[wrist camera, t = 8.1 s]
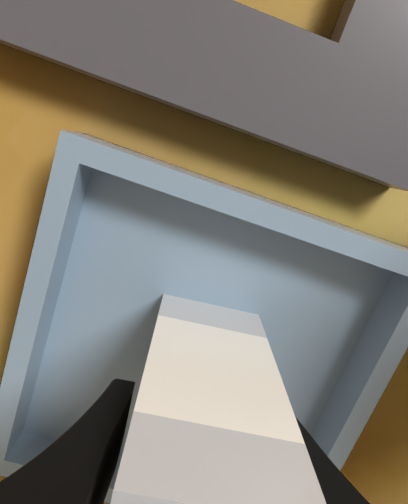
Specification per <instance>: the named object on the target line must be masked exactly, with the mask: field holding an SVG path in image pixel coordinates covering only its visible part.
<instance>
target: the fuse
mask: <svg viewBox="0 0 408 504" xmlns="http://www.w3.org/2000/svg"><path fill="white" fill-rule="evenodd" d="M110 504H326V501H325V498H324V495H323V493H322V490H321V487H320V484H319V482H318V479H317V476H316V473H315V470H314V468H313V465H312V462H311V459H310V456H309V454H308V451H307V448H306V445H305V443H304V440H303V437H302V434H301V431H300V429H299V426H298V423H297V420H296V417H295V415H294V412H293V409H292V406H291V403H290V401H289V398H288V395H287V392H286V390H285V387H284V384H283V381H282V378H281V376H280V373H279V370H278V367H277V364H276V362H275V359H274V356H273V353H272V351H271V348H270V345H269V342H268V339H267V337H266V334H265V331H264V328H263V325H262V323H261V320H260V317H259V315H258V314H254V313H249V312H244V311H240V310H235V309H231V308H226V307H221V306H217V305H212V304H207V303H203V302H198V301H194V300H189V299H184V298H180V297H175V296H171V295H166V294H163V298H162V302H161V306H160V309H159V313H158V317H157V321H156V325H155V329H154V333H153V337H152V341H151V345H150V349H149V353H148V356H147V360H146V364H145V368H144V372H143V376H142V380H141V384H140V388H139V392H138V396H137V399H136V403H135V407H134V411H133V415H132V419H131V423H130V427H129V431H128V435H127V439H126V443H125V446H124V450H123V454H122V458H121V462H120V466H119V470H118V474H117V478H116V482H115V486H114V489H113V494H112V498H111V503H110Z"/></svg>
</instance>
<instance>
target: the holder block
mask: <svg viewBox="0 0 408 504" xmlns="http://www.w3.org/2000/svg"><path fill="white" fill-rule="evenodd" d="M0 43H1V44H3V45H6V46H9V47H11V48H14V49H17V50H19V51H22V52H25V53H28V54H30V55H33V56H36V57H38V58H41V59H44V60H47V61H49V62H52V63H55V64H57V65H60V66H63V67H66V68H68V69H71V70H74V71H76V72H79V73H82V74H84V75H87V76H90V77H93V78H95V79H98V80H101V81H103V82H106V83H109V84H112V85H114V86H117V87H120V88H122V89H125V90H128V91H130V92H133V93H136V94H139V95H141V96H144V97H147V98H149V99H152V100H155V101H158V102H160V103H163V104H166V105H168V106H171V107H174V108H176V109H179V110H182V111H185V112H187V113H190V114H193V115H195V116H198V117H201V118H204V119H206V120H209V121H212V122H214V123H217V124H220V125H222V126H225V127H228V128H231V129H233V130H236V131H239V132H241V133H244V134H247V135H250V136H252V137H255V138H258V139H260V140H263V141H266V142H269V143H271V144H274V145H277V146H279V147H282V148H285V149H287V150H290V151H293V152H296V153H298V154H301V155H304V156H306V157H309V158H312V159H315V160H317V161H320V162H323V163H325V164H328V165H331V166H333V167H336V168H339V169H342V170H344V171H347V172H350V173H352V174H355V175H358V176H361V177H363V178H366V179H369V180H371V181H374V182H377V183H379V184H382V185H385V186H388V187H390V188H395V189H400V190H405V191H408V0H345V2H344V4H343V7H342V9H341V12H340V14H339V17H338V19H337V22H336V25H335V27H334V30H333V32H332V35H331V37H330V39H327V38H325V37H322V36H320V35H317V34H315V33H312V32H310V31H307V30H305V29H302V28H300V27H297V26H295V25H293V24H290V23H288V22H285V21H283V20H280V19H278V18H275V17H273V16H270V15H268V14H265V13H263V12H260V11H258V10H256V9H253V8H251V7H248V6H246V5H243V4H241V3H238V2H236V1H233V0H0Z"/></svg>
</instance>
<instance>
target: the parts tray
mask: <svg viewBox="0 0 408 504" xmlns="http://www.w3.org/2000/svg"><path fill="white" fill-rule="evenodd" d="M163 294H166V295H171V296H175V297H180V298H184V299H189V300H194V301H198V302H203V303H207V304H212V305H217V306H221V307H226V308H231V309H235V310H240V311H244V312H249V313H254V314H258V315H259V317H260V320H261V323H262V325H263V328H264V331H265V334H266V337H267V339H268V342H269V345H270V348H271V351H272V353H273V356H274V359H275V362H276V364H277V367H278V370H279V373H280V376H281V378H282V381H283V384H284V387H285V390H286V392H287V395H288V398H289V401H290V403H291V406H292V409H293V412H294V415H295V416H296V418H297V419H298V420H299V421H300V423H301V424H302V425H303V426H304V428H305V429H306V430H307V431H308V433H309V434H310V435H311V436H312V438H313V439H314V440H315V441H316V443H317V444H318V445H319V446H320V448H321V449H322V450H323V451H324V453H325V454H326V455H327V456H328V458H329V459H330V460H331V461H332V462H333V464H334V465H335V466H336V467H337V468H338V469H339V471H341V469H342V467H343V465H344V463H345V462H346V460H347V458H348V456H349V454H350V452H351V451H352V449H353V447H354V445H355V443H356V442H357V440H358V438H359V436H360V434H361V432H362V431H363V429H364V427H365V425H366V423H367V421H368V420H369V418H370V416H371V414H372V412H373V411H374V409H375V407H376V405H377V403H378V401H379V400H380V398H381V396H382V394H383V392H384V390H385V389H386V387H387V385H388V383H389V381H390V379H391V378H392V376H393V374H394V372H395V370H396V369H397V367H398V365H399V363H400V361H401V359H402V358H403V356H404V354H405V352H406V350H407V348H408V248H407V247H404V246H401V245H398V244H395V243H393V242H390V241H387V240H384V239H381V238H378V237H376V236H373V235H370V234H367V233H364V232H361V231H359V230H356V229H353V228H350V227H347V226H344V225H342V224H339V223H336V222H333V221H330V220H327V219H325V218H322V217H319V216H316V215H313V214H311V213H308V212H305V211H302V210H299V209H296V208H294V207H291V206H288V205H285V204H282V203H279V202H277V201H274V200H271V199H268V198H265V197H262V196H260V195H257V194H254V193H251V192H248V191H246V190H243V189H240V188H237V187H234V186H231V185H229V184H226V183H223V182H220V181H217V180H214V179H212V178H209V177H206V176H203V175H200V174H197V173H195V172H192V171H189V170H186V169H183V168H181V167H178V166H175V165H172V164H169V163H166V162H164V161H161V160H158V159H155V158H152V157H149V156H147V155H144V154H141V153H138V152H135V151H132V150H130V149H127V148H124V147H121V146H118V145H115V144H113V143H110V142H107V141H104V140H101V139H99V138H96V137H93V136H90V135H87V134H84V133H77V132H71V131H64V130H60V134H59V139H58V143H57V147H56V151H55V156H54V160H53V164H52V168H51V173H50V177H49V181H48V185H47V190H46V194H45V198H44V203H43V207H42V211H41V215H40V220H39V224H38V228H37V232H36V237H35V241H34V245H33V249H32V254H31V258H30V262H29V267H28V271H27V275H26V279H25V284H24V288H23V292H22V296H21V301H20V305H19V309H18V313H17V318H16V322H15V326H14V330H13V335H12V339H11V343H10V348H9V352H8V356H7V360H6V365H5V369H4V373H3V377H2V382H1V386H0V476H4V477H8V476H10V475H11V474H12V473H14V472H15V471H17V470H18V469H19V468H21V467H22V466H24V465H25V464H27V463H28V462H29V461H31V460H32V459H33V458H35V457H36V456H37V455H39V454H40V453H41V452H42V451H44V450H45V449H46V448H47V447H49V446H50V445H51V444H52V443H53V442H55V441H56V440H57V439H58V438H59V437H60V436H61V435H62V434H63V433H65V432H66V431H67V430H68V429H69V428H70V427H71V426H72V425H73V424H74V423H75V422H76V421H78V420H79V419H80V418H81V416H82V415H83V414H84V413H85V412H86V411H87V410H88V409H89V408H90V407H91V406H92V405H93V404H94V403H95V402H96V400H97V399H98V398H99V397H100V396H101V395H102V394H103V392H104V391H105V390H106V388H107V387H108V386H109V384H110V383H111V381H112V380H114V379H116V378H117V379H122V380H128V381H133V382H135V386H134V390H133V395H132V400H131V405H130V410H129V415H128V419H127V424H126V429H125V434H124V438H123V442H122V446H121V450H120V454H119V458H118V462H117V466H116V469H115V472H114V475H113V478H112V480H111V483H110V486H109V489H108V492H107V495H106V497H105V500H104V502H105V503H109V504H110V503H111V498H112V494H113V489H114V486H115V482H116V478H117V474H118V470H119V466H120V462H121V458H122V454H123V450H124V446H125V443H126V439H127V435H128V431H129V427H130V423H131V419H132V415H133V411H134V407H135V403H136V399H137V396H138V392H139V388H140V384H141V380H142V376H143V372H144V368H145V364H146V360H147V356H148V353H149V349H150V345H151V341H152V337H153V333H154V329H155V325H156V321H157V317H158V313H159V309H160V306H161V302H162V298H163Z"/></svg>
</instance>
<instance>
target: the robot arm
mask: <svg viewBox="0 0 408 504" xmlns="http://www.w3.org/2000/svg"><path fill="white" fill-rule="evenodd" d="M134 386H135V382H133V381H128V380H122V379H117V378H116V379H114V380H112V381H111V383H110V384H109V386H108V387H107V388H106V390H105V391H104V392H103V394H102V395H101V396H100V397H99V398H98V399H97V400H96V402H95V403H94V404H93V405H92V406H91V407H90V408H89V409H88V410H87V411H86V412H85V413H84V414H83V415H82V416H81V418H80V419H79V420H78V421H76V422H75V423H74V424H73V425H72V426H71V427H70V428H69V429H68V430H67V431H66V432H65V433H63V434H62V435H61V436H60V437H59V438H58V439H57V440H56V441H55V442H53V443H52V444H51V445H50V446H49V447H47V448H46V449H45V450H44V451H42V452H41V453H40V454H39V455H37V456H36V457H35V458H33V459H32V460H31V461H29V462H28V463H27V464H25V465H24V466H22V467H21V468H19V469H18V470H17V471H15V472H14V473H12V474H11V475H10V476H8V477H7V478H5V479H4V480H2V481H1V482H0V504H103V503H104V500H105V497H106V495H107V492H108V489H109V486H110V483H111V480H112V478H113V475H114V472H115V469H116V466H117V462H118V458H119V454H120V450H121V446H122V442H123V438H124V434H125V429H126V424H127V419H128V415H129V410H130V405H131V400H132V395H133V390H134ZM295 417H296V416H295ZM296 420H297V423H298V426H299V429H300V431H301V434H302V437H303V440H304V443H305V445H306V448H307V451H308V454H309V456H310V459H311V462H312V465H313V468H314V470H315V473H316V476H317V479H318V482H319V484H320V487H321V490H322V493H323V495H324V498H325V501H326V504H370V503H369V502H368V501H367V500H366V499H365V498H364V497H363V496H362V495H361V494H360V493H359V492H358V491H357V490H356V488H355V487H354V486H353V485H352V484H351V483H350V482H349V481H348V480H347V479H346V477H345V476H344V475H343V474H342V473H341V472H340V471H339V469H338V468H337V467H336V466H335V465H334V464H333V462H332V461H331V460H330V459H329V458H328V456H327V455H326V454H325V453H324V451H323V450H322V449H321V448H320V446H319V445H318V444H317V443H316V441H315V440H314V439H313V438H312V436H311V435H310V434H309V433H308V431H307V430H306V429H305V428H304V426H303V425H302V424H301V423H300V421H299V420H298V419H297V418H296Z"/></svg>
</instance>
